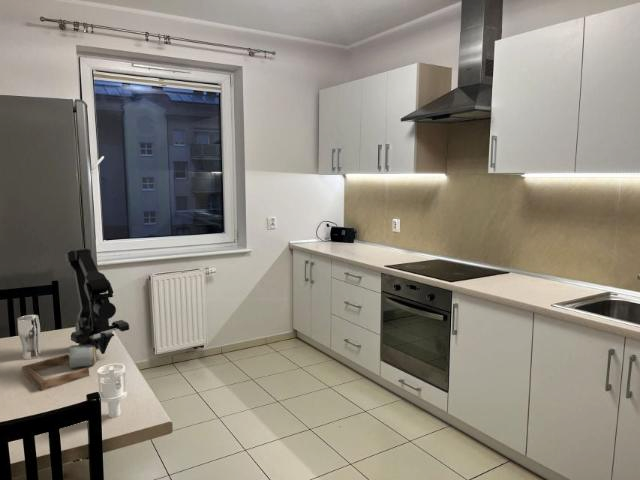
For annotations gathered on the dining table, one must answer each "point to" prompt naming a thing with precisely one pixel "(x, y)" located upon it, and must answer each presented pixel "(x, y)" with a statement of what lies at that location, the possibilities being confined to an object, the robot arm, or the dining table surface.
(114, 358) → the dining table surface
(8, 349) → the dining table surface
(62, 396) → the dining table surface
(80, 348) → the ceramic mug
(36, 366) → the walnut bay
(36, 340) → the beer glass
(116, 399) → the strainer
